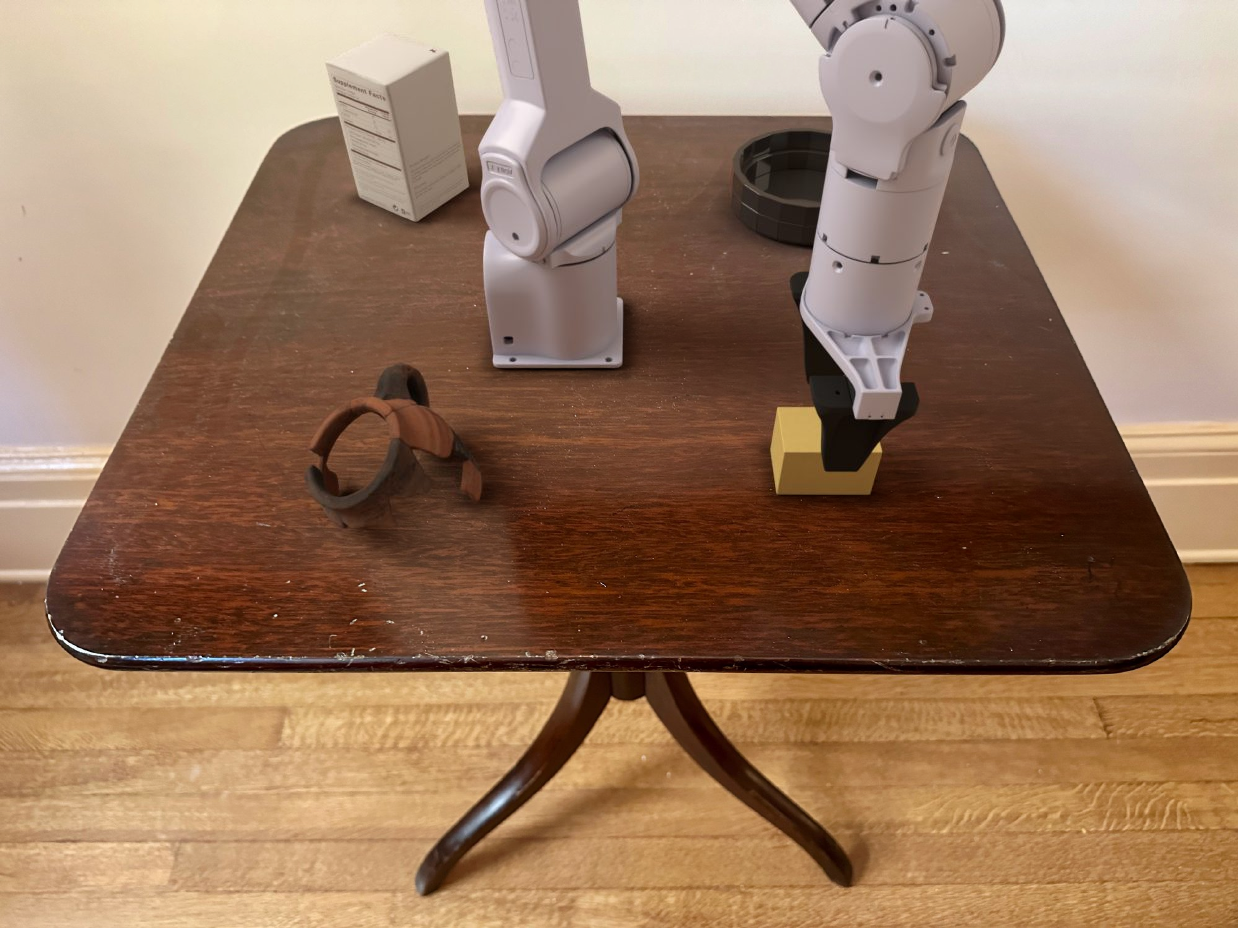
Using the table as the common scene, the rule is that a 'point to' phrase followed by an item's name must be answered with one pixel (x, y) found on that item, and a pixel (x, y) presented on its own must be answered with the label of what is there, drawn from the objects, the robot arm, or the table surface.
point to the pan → (781, 183)
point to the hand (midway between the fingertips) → (831, 421)
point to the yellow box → (812, 458)
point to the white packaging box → (400, 123)
